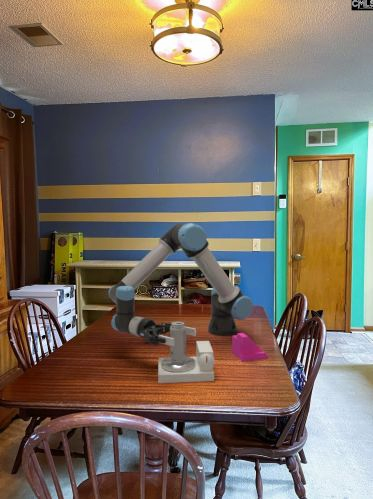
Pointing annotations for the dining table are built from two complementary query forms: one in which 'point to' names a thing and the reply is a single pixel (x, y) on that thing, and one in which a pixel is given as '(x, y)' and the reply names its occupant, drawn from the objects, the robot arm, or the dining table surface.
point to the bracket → (246, 348)
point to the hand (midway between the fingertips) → (185, 337)
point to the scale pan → (184, 367)
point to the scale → (198, 373)
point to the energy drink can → (178, 343)
